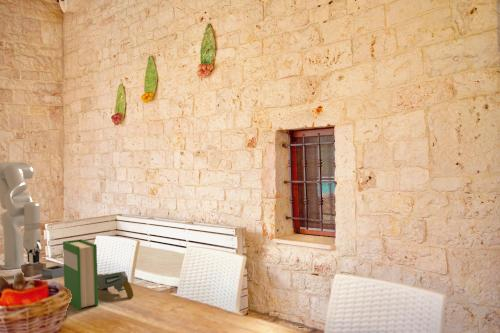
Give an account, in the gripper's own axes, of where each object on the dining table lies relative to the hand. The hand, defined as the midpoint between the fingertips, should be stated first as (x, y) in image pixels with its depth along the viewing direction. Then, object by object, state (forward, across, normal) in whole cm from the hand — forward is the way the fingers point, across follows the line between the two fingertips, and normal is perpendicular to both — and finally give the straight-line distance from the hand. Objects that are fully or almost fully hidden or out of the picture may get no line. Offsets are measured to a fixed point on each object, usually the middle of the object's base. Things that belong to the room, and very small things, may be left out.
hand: (33, 261), depth 220 cm
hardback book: (+7, +64, -18) cm, 67 cm away
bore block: (+6, 0, 0) cm, 6 cm away
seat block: (+6, +14, +3) cm, 16 cm away
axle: (+6, 0, 0) cm, 6 cm away
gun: (+7, +64, -2) cm, 65 cm away
